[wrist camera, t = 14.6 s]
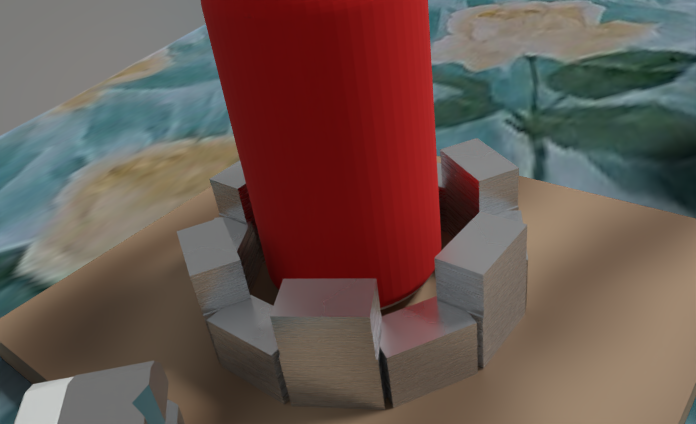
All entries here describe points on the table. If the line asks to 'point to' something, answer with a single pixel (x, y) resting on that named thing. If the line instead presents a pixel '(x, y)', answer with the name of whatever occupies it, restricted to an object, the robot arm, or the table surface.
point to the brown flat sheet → (444, 404)
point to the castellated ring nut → (367, 298)
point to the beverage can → (334, 135)
